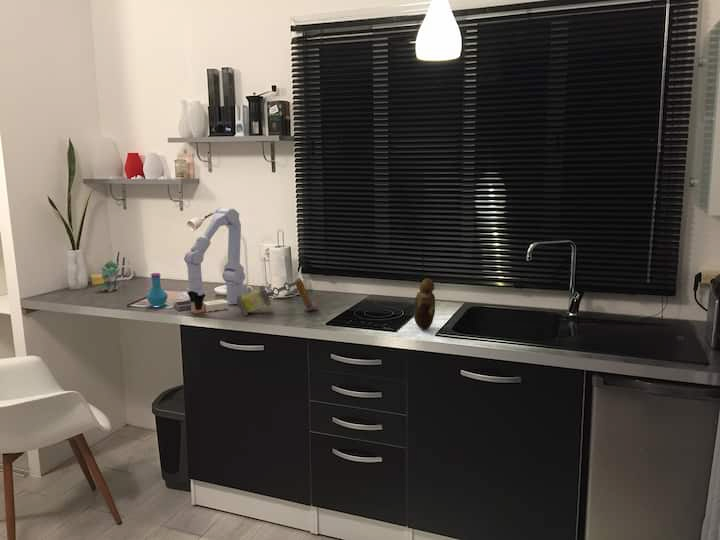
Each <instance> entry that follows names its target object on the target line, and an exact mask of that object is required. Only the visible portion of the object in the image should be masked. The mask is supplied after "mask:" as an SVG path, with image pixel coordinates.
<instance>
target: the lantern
mask: <svg viewBox="0 0 720 540" xmlns="http://www.w3.org/2000/svg"><path fill="white" fill-rule="evenodd" d="M294 286H295V287H296V288H297V291H298V294H299V295H300V298H301V300H302V302H303V304H304V306H303V308H302V309H303V311H304V313H306V312H310V311H312V310H315V309H316V308H317V305H316V303H315V302H312V301H311V298H310V297H309V294H308V292H307V290H306V287H305V285H304V282H303V281H302V279H301V278H300V277H299V278H296V279H294V282H291V283H288V282H286V281H285V282H284V283H283V286H281V287H280V288H277V287H275V286H274V287H273V288H272V291H269V292H267V290H266V287H265V286H264V285H261V286H259V289H256V290H254V291H252V292H248V294H247V295H244V296H241V295H239V296H237V300H236V301H237V303H238V304H237V305H238V308H239V309H240V311H241V313H242V315H243V317H246V316H249V315H248V313H249V312H252V311H254V310H257V309H259V308H261V307H264V306H266V307H269V306H271V299H270V297H272V295H274V296H279V294H280V292H283V291H284V290H285V291H287V292H290V290H291V288H292V287H294ZM287 287H288V288H287ZM275 290H277V293H275ZM245 315H246V316H245Z"/></svg>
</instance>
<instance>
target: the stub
mask: <svg viewBox="0 0 720 540" xmlns="http://www.w3.org/2000/svg"><path fill="white" fill-rule="evenodd" d="M190 310H191V312H192V313H193V314H199V313H206V312H205V309H204V303H202V309H201V310H196V307H195V302H191V309H190Z"/></svg>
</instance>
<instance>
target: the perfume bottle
mask: <svg viewBox="0 0 720 540" xmlns="http://www.w3.org/2000/svg"><path fill="white" fill-rule="evenodd" d="M161 276H162V274H161V273H159V272H153V273H151V274H150V278H151V286H152V288H151V289H150V291H148V293H147V295H146V300H147V301H148V304H150V305H151V306H163V305H165V306H166V302H167V300H168V296H169V294H168V293H167V291H165V289H163V287H162V286H161ZM151 306H150V307H151ZM163 307H164V306H163Z"/></svg>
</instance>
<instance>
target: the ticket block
mask: <svg viewBox="0 0 720 540" xmlns="http://www.w3.org/2000/svg"><path fill="white" fill-rule="evenodd" d="M225 300H226V299H224V298H223V299H216V300H208V301H203V303H204V309H205V311H206V312H205V313H209V311H211V312H216V311H215V310H218V311H224V309H225V310H229V304H228V302H226V301H225Z"/></svg>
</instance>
